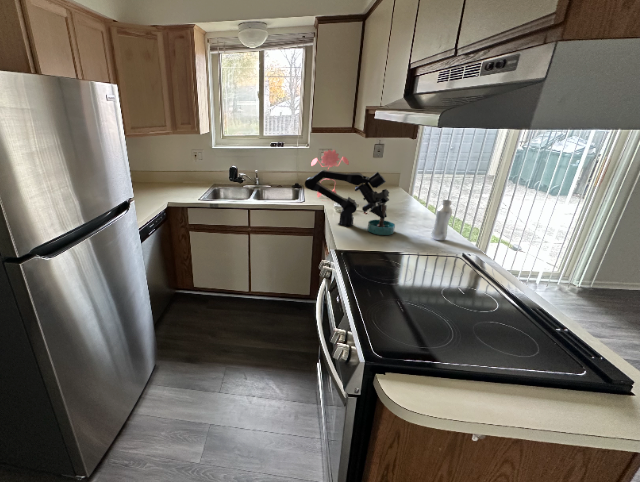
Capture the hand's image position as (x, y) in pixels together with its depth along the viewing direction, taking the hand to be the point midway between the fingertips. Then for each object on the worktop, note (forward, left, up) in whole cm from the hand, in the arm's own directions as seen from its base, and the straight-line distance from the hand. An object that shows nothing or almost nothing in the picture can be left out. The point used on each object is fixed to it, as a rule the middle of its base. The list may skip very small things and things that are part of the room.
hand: (385, 217), depth 167 cm
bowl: (-1, 0, -8) cm, 8 cm away
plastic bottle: (+25, +7, -8) cm, 27 cm away
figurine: (-54, +44, -8) cm, 70 cm away
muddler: (-1, 0, -8) cm, 8 cm away
